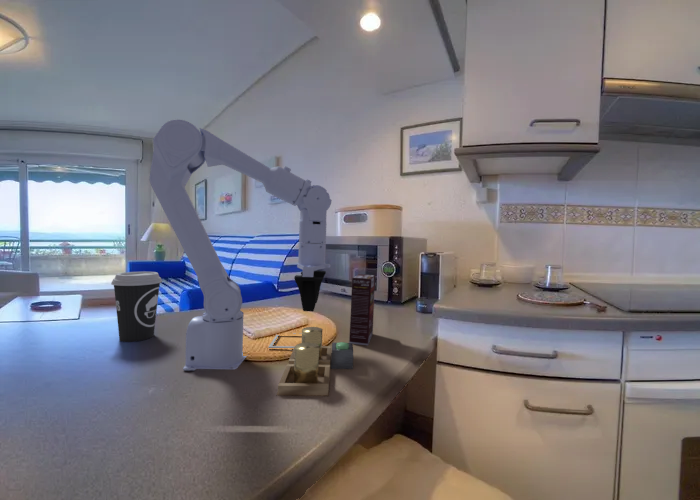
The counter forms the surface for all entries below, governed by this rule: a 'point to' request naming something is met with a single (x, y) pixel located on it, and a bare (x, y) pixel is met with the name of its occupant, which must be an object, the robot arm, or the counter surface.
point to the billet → (306, 363)
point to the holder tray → (307, 389)
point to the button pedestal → (342, 357)
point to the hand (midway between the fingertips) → (310, 306)
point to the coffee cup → (136, 304)
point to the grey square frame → (279, 346)
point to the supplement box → (362, 309)
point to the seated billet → (313, 337)
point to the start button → (342, 345)
